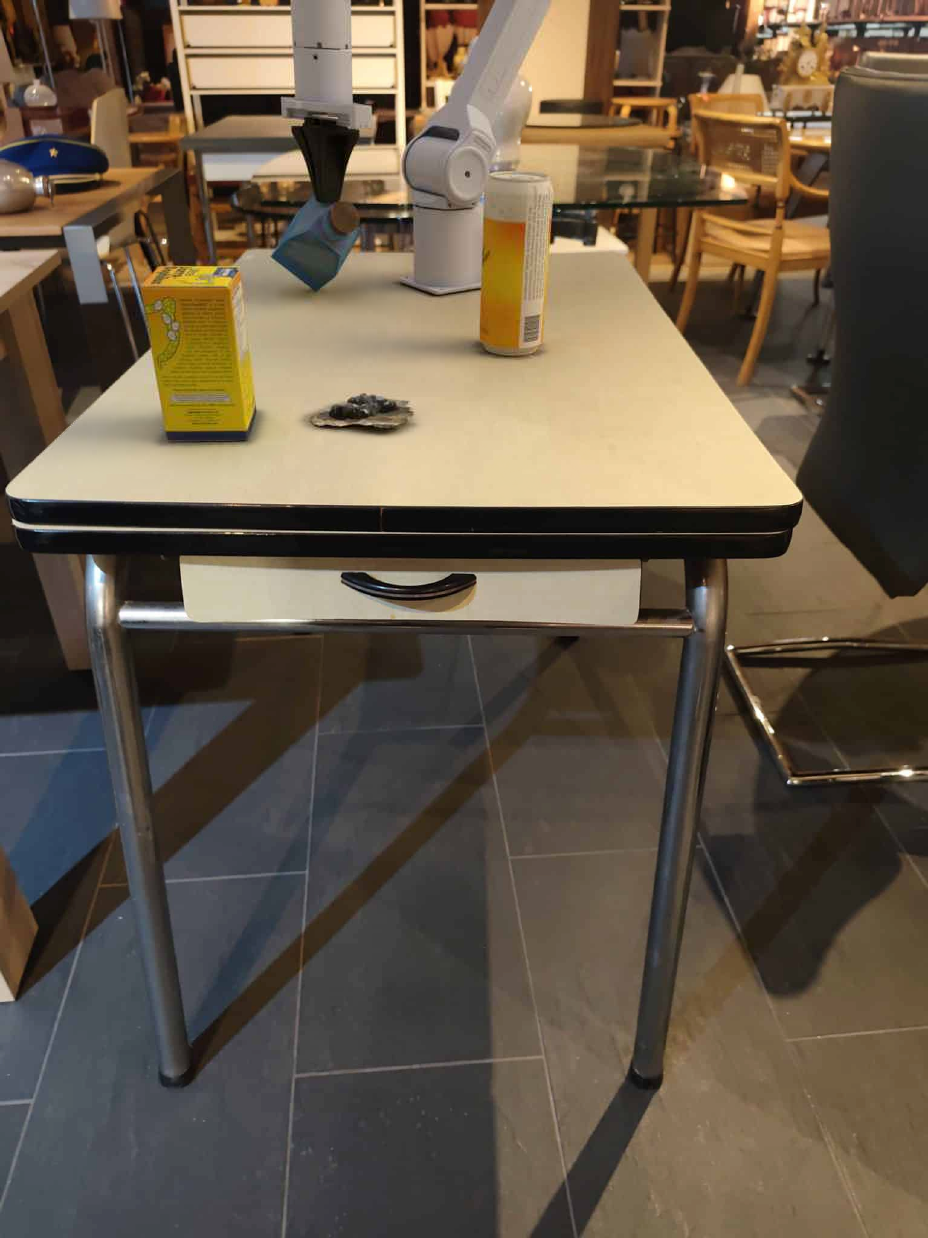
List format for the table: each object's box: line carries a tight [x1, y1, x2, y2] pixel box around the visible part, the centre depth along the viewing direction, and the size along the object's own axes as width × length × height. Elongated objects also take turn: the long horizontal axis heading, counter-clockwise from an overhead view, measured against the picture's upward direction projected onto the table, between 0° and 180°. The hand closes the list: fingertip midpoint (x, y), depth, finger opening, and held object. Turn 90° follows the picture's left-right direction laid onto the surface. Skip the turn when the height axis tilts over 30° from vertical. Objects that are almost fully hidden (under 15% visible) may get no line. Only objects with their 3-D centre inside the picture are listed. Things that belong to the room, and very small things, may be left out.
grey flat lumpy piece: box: [309, 392, 415, 429], centre depth 68 cm, size 7×8×2 cm
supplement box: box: [139, 265, 257, 443], centre depth 63 cm, size 6×6×11 cm
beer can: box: [478, 170, 554, 357], centre depth 81 cm, size 6×6×15 cm
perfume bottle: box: [270, 194, 362, 293], centre depth 96 cm, size 6×6×12 cm
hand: (327, 201), depth 94 cm, fingers closed, pressing on perfume bottle
